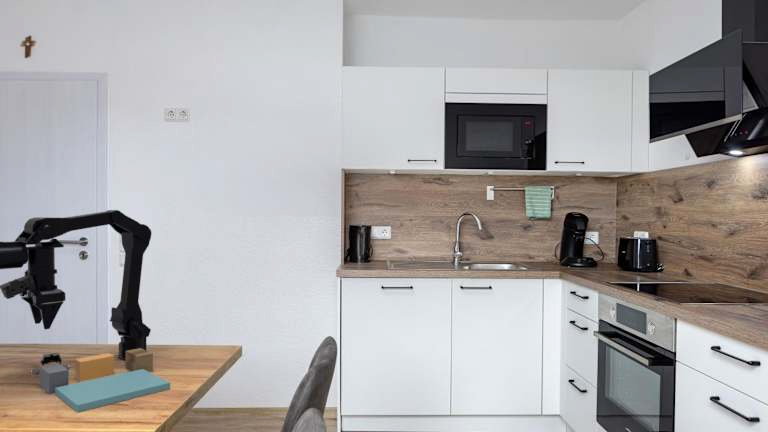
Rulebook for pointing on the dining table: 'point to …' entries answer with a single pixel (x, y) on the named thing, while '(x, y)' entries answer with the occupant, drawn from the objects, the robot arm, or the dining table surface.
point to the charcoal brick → (53, 377)
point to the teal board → (110, 389)
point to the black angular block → (49, 361)
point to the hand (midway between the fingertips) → (42, 326)
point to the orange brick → (94, 366)
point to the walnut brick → (139, 360)
